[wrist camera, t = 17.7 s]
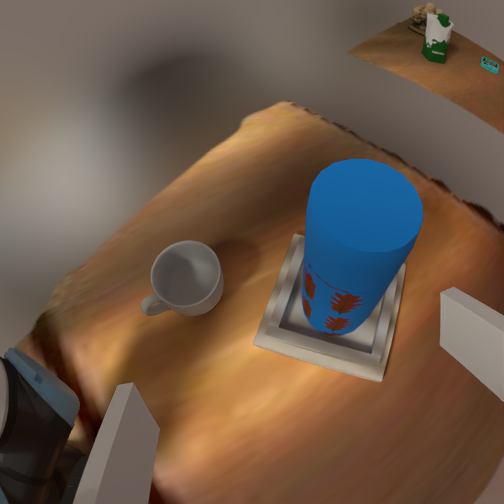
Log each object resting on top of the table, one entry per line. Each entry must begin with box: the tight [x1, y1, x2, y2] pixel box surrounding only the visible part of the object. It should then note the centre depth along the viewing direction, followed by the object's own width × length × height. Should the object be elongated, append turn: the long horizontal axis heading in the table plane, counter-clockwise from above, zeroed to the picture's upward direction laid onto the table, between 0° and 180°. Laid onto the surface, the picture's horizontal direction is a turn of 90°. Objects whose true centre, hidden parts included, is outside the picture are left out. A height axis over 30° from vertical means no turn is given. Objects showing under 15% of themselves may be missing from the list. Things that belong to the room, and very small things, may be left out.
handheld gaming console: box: [480, 56, 499, 74], centre depth 89 cm, size 8×1×15 cm
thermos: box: [301, 159, 423, 336], centre depth 37 cm, size 11×11×25 cm
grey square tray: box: [253, 234, 406, 382], centre depth 48 cm, size 20×20×4 cm
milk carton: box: [422, 13, 454, 63], centre depth 80 cm, size 9×9×20 cm
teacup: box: [141, 241, 224, 316], centre depth 50 cm, size 14×11×8 cm
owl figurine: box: [408, 3, 444, 36], centre depth 95 cm, size 18×12×17 cm, turn 54°
